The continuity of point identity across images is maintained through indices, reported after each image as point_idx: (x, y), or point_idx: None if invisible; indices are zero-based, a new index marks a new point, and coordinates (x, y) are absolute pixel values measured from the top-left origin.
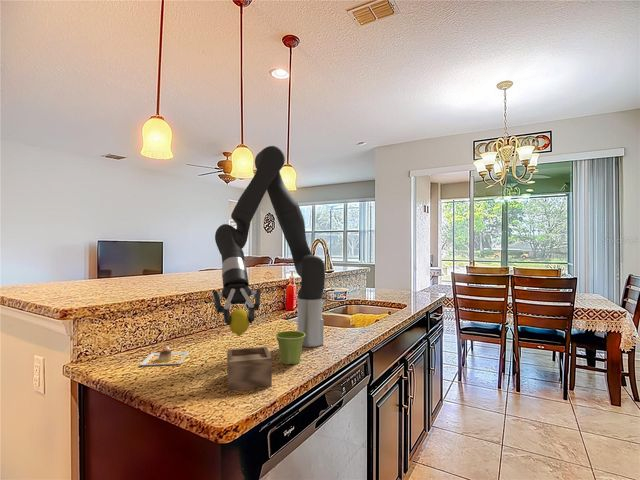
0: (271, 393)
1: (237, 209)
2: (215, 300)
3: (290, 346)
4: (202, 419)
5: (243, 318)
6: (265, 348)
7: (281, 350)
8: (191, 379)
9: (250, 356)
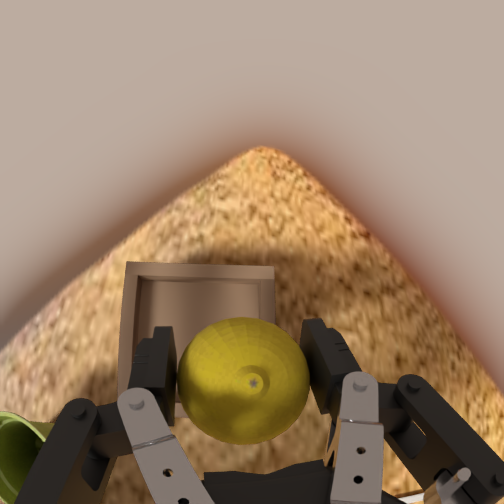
0: (157, 244)
1: None
2: (460, 416)
3: (36, 424)
4: (308, 175)
5: (218, 322)
6: (124, 385)
7: None
8: None
9: None
